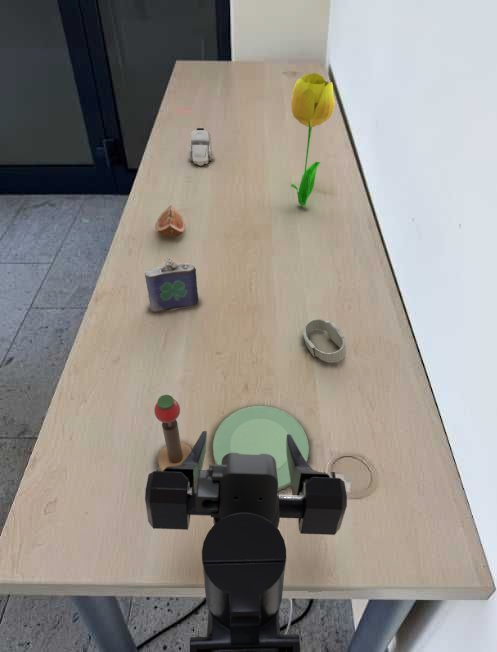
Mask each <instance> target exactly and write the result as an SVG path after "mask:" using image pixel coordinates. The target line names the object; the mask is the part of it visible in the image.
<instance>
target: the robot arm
mask: <svg viewBox="0 0 497 652" xmlns="http://www.w3.org/2000/svg"><path fill="white" fill-rule="evenodd" d="M207 439H208V431H207V430H203V431H202V432H201V433H200V435H199V437H198V438H197V440H196V442H195V444H194V446H193V447H192V448H191V450H192V451H191V452H190V454H189V455H188V457H187V458H186V459H185V460H184V461H183V463H182V464H181V465H178V466H174V467H166V468H165V469H164V471H161V470H153V471H152V472H150V473H148V475H147V481H146V485H145V492H144V501H145V507H146V508H145V509H146V516H147V522H148V523H149V525H150V526H151V528H152V529H157V530H158V529H159V530H186V531H188V530H189V528H190V523H191V516H200V517H201V516H203V517H210V518H212V519H213V525H212V527H210V529H209V530H208V532H207V533H206V536H205V538H204V540H203V543H202V548H201V562H202V573H203V582H204V593H205V602H206V607H207V610H208V611H207V627H206V628H207V629H206V636H190V637H189V652H301V640H300V639H301V638H300V634H299V633H295V634H292V633H291V634H281V624H280V622H281V621H280V608H281V606H282V605H281V604H282V600H283V591H284V582H285V575H286V566H287V565H286V564H287V547H286V543H285V539H284V537H283V535H282V532H281V531H280V529H279V525H280V520H281V519H297V523H298V525H297V526H298V531H299V534H302V535H323V536H324V535H325V536H327V535H328V536H335V535H336V534H337V533H338V532H339V530H340V529H341V527H342V523H343V520H344V516H345V513H346V510H347V507H348V495H347V488H346V484H345V483H346V482H345V481H344V480H343V479H342V478H340V477H331V476H330V475H329V473H327V472H325V471H324V472H323V471H318V470H315V469H313V468H312V467H311V466H310V464H309V463H308V461H307V462H306V461H305V459H304V458H303V456H302V454H301V452H300V450H299V449H298V447H297V445H296V443H295V441H294V440H293V438H292V436H291V435H290V434H287V437H286V454H287V461H288V468H289V475H290V481H291V485H290V488H291V494H278V493H279V491H278V477H277V468H276V461H275V459H274V457H273V456H271V455H269V454H259V455H250V454H239V453H228V454H226V455H225V456H224V457H223V459H222V464H221V465H216V463H213V464H212V463H210V464H209V465H208V469H203V466H204V461H205V456H206V452H207V442H208V441H207Z"/></svg>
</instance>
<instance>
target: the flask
mask: <svg viewBox="0 0 497 652" xmlns="http://www.w3.org/2000/svg"><path fill="white" fill-rule="evenodd" d="M164 261H165V264H164V265H162V266H158V267H154V268H153V267H152V268H150V269H147V270H146V271H145V273H144V278H145V283H146V288H147V297H148V301H149V307H150V310H151V312H152V313H159V314H160V313H164V312H173V311H176V310H178V309H181V310H182V309H184V308H186V309H187V308H195V307H197V305H199V293H198V281H197V280H198V279H197V269H196V266H195V265H194V264H192V263H187V262H186V263H185V262H184V263H176V262H174V261H173V260H172V257H167V258H165V259H164ZM172 261H173V262H172Z"/></svg>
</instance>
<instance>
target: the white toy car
mask: <svg viewBox="0 0 497 652" xmlns="http://www.w3.org/2000/svg"><path fill="white" fill-rule="evenodd" d="M212 147H213V146H212V136H211V133H210V131H209V130H206V129H205V128H204V127H196V129H194V130H191V134H190V145H189V147H188V153H189V158H190V161H191V162H193V164H194V165H198V166H199V167H201V166H204V165H208V164H209V161H210V162H212V159H213V157H212V155H213V154H212V151H213V150H212Z"/></svg>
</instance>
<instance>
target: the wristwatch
mask: <svg viewBox="0 0 497 652" xmlns="http://www.w3.org/2000/svg"><path fill="white" fill-rule="evenodd" d="M316 330H318V331H320V330H321V331H324V332H326V333H327V335H328V336H329V338H330V339H331V341H332V342H333V343H334V344H336V346H337V347H339V349H338V350H336V351H334V352H325V351H322V350H320V349H318V348H317V347H316V346H315V344H314V343H313V342H312V341H311V340H309V334H310V333H311V332H314V331H316ZM302 335H303V340H304V344H305V346H306V348H307V350H309V352H310V354H311V355H312V356H313V357H314V358H315V357H317V358H318V359H320V360H321V361H324V362H326V363H336V362H340V361H341V360H342V359H344V358H345V356H346V354H347V353H346V352H347V351H346V343H345V337H344V335H343V332H342V331H341V329H340V328H339V327H338V326H337V325H336V324H335V323H333V322H332V321H331V320H327V319H323V318H314V319H311V320H309V321H308V322H307V323H306V324H304V326H303V329H302Z"/></svg>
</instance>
